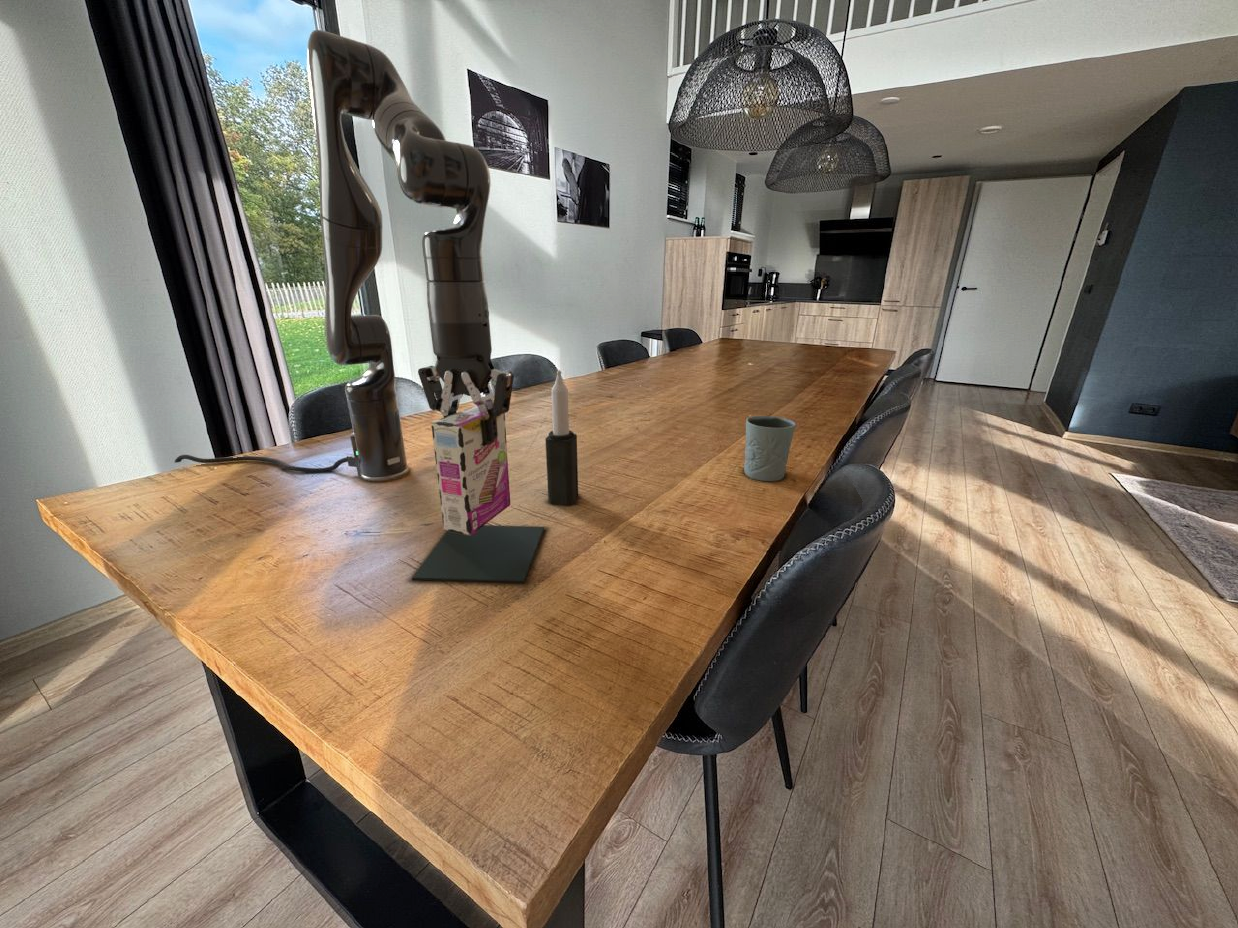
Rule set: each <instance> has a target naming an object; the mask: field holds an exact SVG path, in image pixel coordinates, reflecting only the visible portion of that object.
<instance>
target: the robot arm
mask: <svg viewBox="0 0 1238 928" xmlns="http://www.w3.org/2000/svg"><path fill="white" fill-rule="evenodd" d="M308 37H309V38H308V41H307V50H306V51H307V52H306V54H307V58H306V59H307V72H308V73H307V74H308V82H309V90H310V91H309V92H310V99H311V107H312V114H313V123H314V130H315V131H314V132H315V140H316V148H317V161H318V177H319V178H318V179H319V180H318V181H319V210H320V212H319V213H320V228H321V238H322V248H323V260H324V275H325V304H324V309H325V310H324V336H325V344H326V349H327V353H328V354H329V355H328V356H330V359H331V360H332V362H334V363H335V364H337V365H340V366H353V365H363V364H369V365H368V369H366V371H365V372H364V373H363V374H361V375H359V376H358V377H357V378H355V379H353V380H350V381H349V382H347V383H346V384H345V386H344V393H345V399H346V402H347V407H348V412H349V417H350V420H351V421H350V422H351V428H352V432H351V433H350V435H349V436H350V437H349V438H350V442H351V447H352V452H353V453H351V454H349V455H347V456H346V457H342V458H340V459H338V460H337V461H335V462H334V463H333V465H331V466H326V467H305V466H297V465H291V464H288V463H286V462H285V461H282V460H281V459H277V458H273V457H267V456H257V455H242V456H243V457H238V456H235V457H237V458H233V457H234V456H226V457H214V458H213V457H212V458H202V457H197V456H193V455H190V454H181V455H179V456H177V457H176V458H175V459H174V463H181V462H182V461H183V460H188V461H192V462H195V463H200V464H214V463H216V464H217V463H228V462H238V461H240V462H241V461H254V462H265V463H271V464H276V465H278V466H281V467H282V468H284V469H285V470H288V471H294V472H299V473H310V474H311V473H314V474H315V473H328V472H331V471H335V470H336V469H338V468H339V467H340V466H341V465H342V464H343V463H347V466H348V467H352V468H355V469H356V472H357V476H358V477H360V478H361V479H362V480H363V481H368V482H375V483H376V482H386V481H387V482H388V481H392V480H396V479H399V478H401V477H404V476H405V475H407V474H408V473H409V470H410V469H409V465H408V459H407V454H406V448H405V439H404V435H403V428H402V422H401V421H402V420H401V414H400V410H399V409H400V408H399V404H398V397H397V391H396V373H395V368H394V356H393V344H392V338H391V332H390V330H389V327H388V324H387V323H386V320H385V319H384V318H383V317H382V316H380V315H378V314H356V315H355V314H354V315H353V314H352V311H353V306H354V303H355V299H356V297H357V295H358V293H359V291H360V289H361V287H363V284H365V282H366V280H367V279H369V276H370V275H371V274H372V272H373V271H374V269H375V268H376V266H377V265H378V264H379V263H378V262H379V261H380V258H381V255H382V252H383V214H382V210H381V206H380V205H379V202H378V201H377V199H376V196H375V194H374V193H373V191H372V189H371V188H370V186H369V184H368V182H367V181H366V180H365V178H364V176H363V175H362V173H361V171H360V170H359V168H358V167H357V164H356V162H355V160H354V158H353V156H352V154H351V152H350V150H349V147H348V144H347V141H346V139H345V134H344V129H343V124H342V115H345V116H346V115H347V116H351V117H355V118H360V119H363V120H367V121H372V126H373V131H374V135H375V136H376V138H377V140H378V142H379V144H380V145H381V147H382V148H383V149H384V151H385V152H386V153H387V154H388V155H389V157H390V158H391V159H392V160H393V162H394V164H395V168H396V175H397V180H398V185H399V187H400V189H401V192H402V193H403V194H404V196H405V197H406V198H408V199H409V200H411V201H412V202H413V203H415V204H417V205H420V206H423V207H424V206H425V207H430V208H431V207H433V208H443V209H453V210H455V211H456V212H455V217H454V221H453V223H452V225H451V226H448V227H444V228H437V229H432V230H428V231H426V232H425V233H424V234H423V236H422V240H421V241H422V243H421V245H422V256H423V263H424V270H425V271H424V272H425V277H426V302H427V311H428V312H427V313H428V320H429V327H430V335H431V343H432V352H433V354H434V355H435V356H436V361H435V365H429V366H425V367H420V368H419V369H418V370H417V375H418V378H419V380H420V383H421V386H422V389H423V392H424V395H425V397H426V400H427V404H428V407H429V409H430V410H431V411H437V412H440V413H441V415H442V416H443V417H442V418H444V417H447V416H450V415H452V414H455V413H457V412H458V410H459V408H460V407H459V406H460V402H461V399H462V398H463V397H464V395H465V396H468V397H470V398H471V400H472V403H473V404H474V405H475V406H477V407H478V409H479V411H480V414H481V416H482V418H483V419H482V420H481V428H482V438H483V444H484V445H490V444H492V443H493V442H495V439H497V436H498V432H497V417H498V416H500V415H501V414H504V413H505V414H506V413H508V412H509V411H510V406H511V399H512V393H513V386H514V378H515V374H514V372H513V371H512V370H507V371H503V370H500V369H497V368H495V365H494V363H493V362H492V358H491V357H492V351H493V349H492V348H493V347H492V339H491V338H492V337H491V325H490V323H491V322H490V311H489V302H488V296H487V291H486V286H485V276H484V266H483V256H482V247H483V246H482V245H483V244H482V243H483V235H484V228H485V221H486V214H487V209H488V204H489V199H490V193H491V185H492V184H491V172H490V169H489V166H488V163H487V160H486V159H485V157H484V155H483V154H482V153H481V151H480V150H479V149H478V148H476V147H474V146H473V145H471V144H465V143H461V142H455V141H449V140H446V137H445V135H444V134H443V132H442V130H441V129H440V127H439V126H438V125H437V124H436V122H434V121H433V119H431V117H429V116H428V115H427V114H426V113H425V111H423V109H421V108H420V107H419V106H418V104H417V103H416V102H415V101H414V100H413V98H412V96H411V94H410V92H409V90H408V88H407V86H406V84H405V82H404V81H403V80H402V79H403V78H402V77H401V75H400V74H399V72H398V70H397V68H396V67H395V65H394V63H393V62H392V61H391V59H390V58H389V57H388V56H387V55H386V54H385V53H384V52H383V51H382V50H381V49H379V48H377V47H375V46H373V45H371V44H367V43H364V42H361V41H357V40H355V39H351V38H349V37H346V36H342V35H339V34H336V33H332V32H330V31H326V30H322V29H314V30H312V31H311V33H310V35H309V36H308ZM440 379H441V380H442V382H443V385H442V383H441V380H440ZM492 380H493V382H492V385H493V386H494V387H495V389H494V392H493V389H492V387H491V385H490V382H491V381H492Z"/></svg>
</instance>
